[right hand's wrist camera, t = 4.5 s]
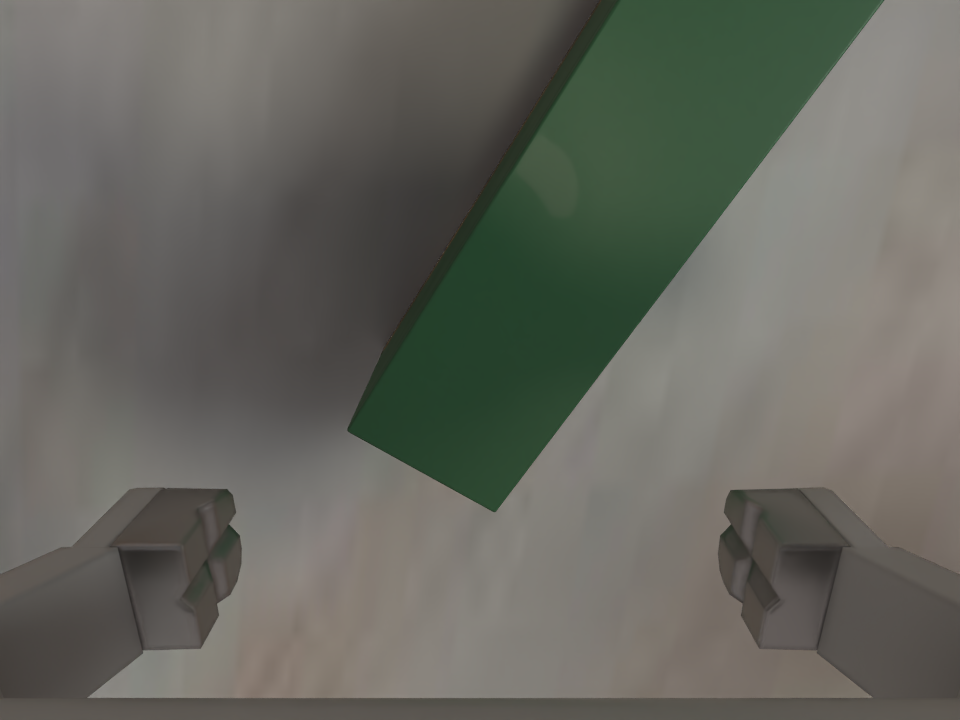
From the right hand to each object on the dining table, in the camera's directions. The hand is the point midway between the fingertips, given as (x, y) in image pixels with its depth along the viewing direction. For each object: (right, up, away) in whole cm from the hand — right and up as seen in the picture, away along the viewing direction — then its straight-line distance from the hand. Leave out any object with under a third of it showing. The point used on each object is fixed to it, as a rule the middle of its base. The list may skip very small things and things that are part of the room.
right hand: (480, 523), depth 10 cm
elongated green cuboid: (+3, +9, +13) cm, 16 cm away
